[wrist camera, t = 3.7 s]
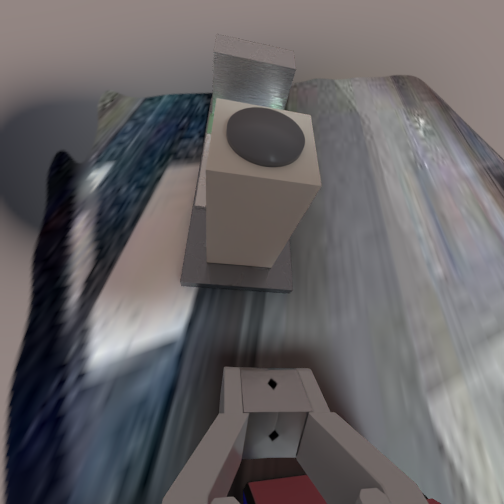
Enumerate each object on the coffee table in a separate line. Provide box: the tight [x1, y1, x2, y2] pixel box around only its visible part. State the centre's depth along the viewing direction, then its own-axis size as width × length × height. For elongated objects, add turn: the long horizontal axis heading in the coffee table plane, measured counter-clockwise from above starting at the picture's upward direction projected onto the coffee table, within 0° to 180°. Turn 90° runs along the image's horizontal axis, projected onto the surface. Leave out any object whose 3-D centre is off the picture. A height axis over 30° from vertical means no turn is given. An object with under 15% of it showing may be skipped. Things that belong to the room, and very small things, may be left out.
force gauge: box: [206, 98, 322, 268], centre depth 19 cm, size 9×6×11 cm, turn 179°
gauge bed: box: [180, 34, 296, 293], centre depth 24 cm, size 27×10×8 cm, turn 179°
